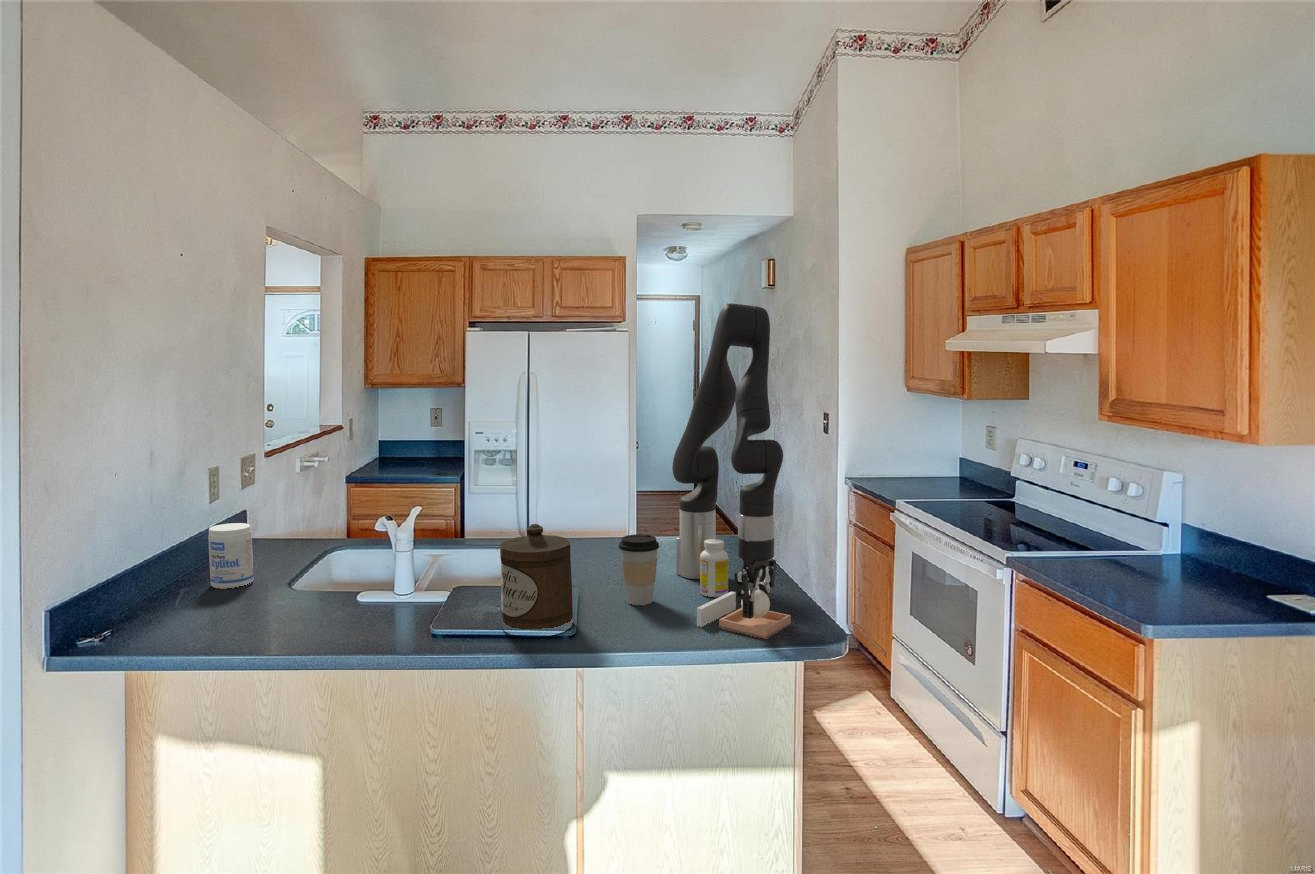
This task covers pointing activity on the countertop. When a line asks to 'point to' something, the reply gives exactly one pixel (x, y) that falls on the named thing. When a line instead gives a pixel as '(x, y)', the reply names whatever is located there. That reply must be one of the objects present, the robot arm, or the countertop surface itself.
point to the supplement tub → (230, 555)
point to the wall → (716, 608)
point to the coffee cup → (639, 567)
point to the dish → (755, 623)
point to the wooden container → (536, 580)
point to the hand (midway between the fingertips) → (755, 613)
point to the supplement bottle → (714, 569)
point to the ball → (760, 604)
